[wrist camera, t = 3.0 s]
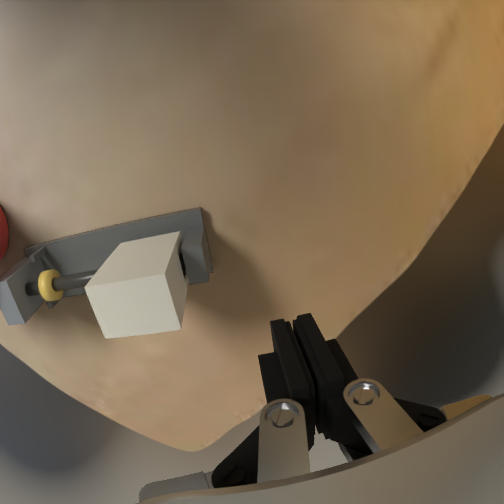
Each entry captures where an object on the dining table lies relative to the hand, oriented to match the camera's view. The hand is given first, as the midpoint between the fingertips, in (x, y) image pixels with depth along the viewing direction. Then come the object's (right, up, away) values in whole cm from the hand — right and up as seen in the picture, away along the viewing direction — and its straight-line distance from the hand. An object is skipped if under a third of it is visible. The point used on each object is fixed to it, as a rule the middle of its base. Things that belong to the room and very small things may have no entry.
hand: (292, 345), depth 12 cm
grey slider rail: (-15, +3, +13) cm, 20 cm away
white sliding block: (-9, +3, +11) cm, 15 cm away
